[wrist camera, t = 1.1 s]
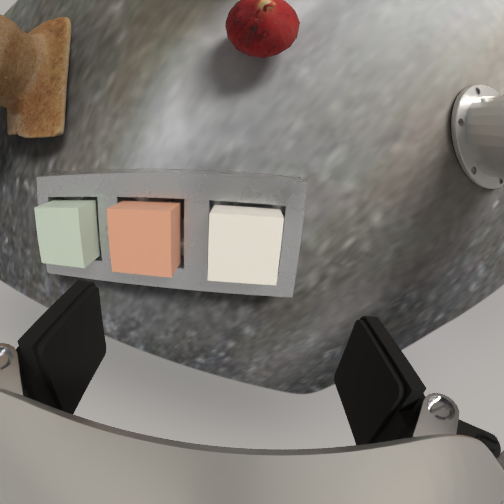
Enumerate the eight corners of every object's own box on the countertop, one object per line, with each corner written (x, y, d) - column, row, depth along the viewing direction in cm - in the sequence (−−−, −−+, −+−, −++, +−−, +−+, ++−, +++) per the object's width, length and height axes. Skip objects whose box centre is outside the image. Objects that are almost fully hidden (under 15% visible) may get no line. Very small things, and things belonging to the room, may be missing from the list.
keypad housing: (299, 177, 26) (307, 182, 22) (287, 277, 29) (292, 297, 25) (60, 171, 25) (36, 177, 21) (67, 258, 29) (47, 272, 25)
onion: (271, 78, 23) (279, 50, 15) (217, 49, 22) (204, 15, 14) (303, 34, 21) (321, -3, 13) (251, 7, 20) (250, -36, 12)
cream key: (280, 209, 23) (284, 218, 20) (273, 269, 25) (276, 285, 22) (214, 204, 23) (209, 213, 20) (212, 265, 25) (207, 280, 22)
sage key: (95, 200, 23) (78, 207, 20) (99, 255, 24) (84, 268, 22) (53, 200, 22) (34, 207, 20) (58, 251, 24) (41, 262, 21)
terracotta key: (180, 202, 23) (170, 210, 20) (180, 262, 25) (171, 277, 22) (122, 200, 23) (106, 208, 20) (125, 258, 24) (112, 271, 22)
